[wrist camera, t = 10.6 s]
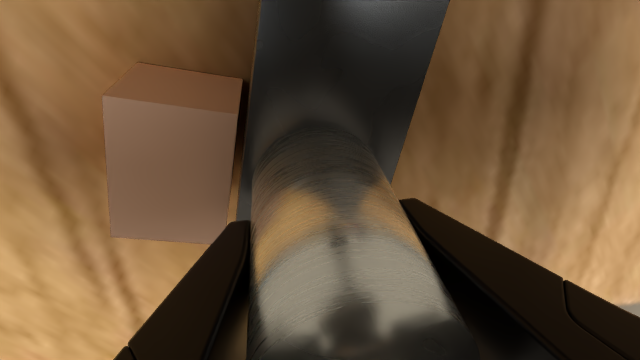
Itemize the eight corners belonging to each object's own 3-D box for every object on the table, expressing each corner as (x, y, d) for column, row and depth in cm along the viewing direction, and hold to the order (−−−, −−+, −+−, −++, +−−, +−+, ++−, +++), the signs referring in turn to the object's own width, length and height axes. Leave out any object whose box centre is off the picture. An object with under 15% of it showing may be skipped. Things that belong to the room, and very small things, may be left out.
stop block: (137, 62, 12) (101, 95, 9) (242, 79, 12) (237, 114, 10) (139, 181, 13) (110, 237, 11) (230, 190, 14) (224, 245, 11)
